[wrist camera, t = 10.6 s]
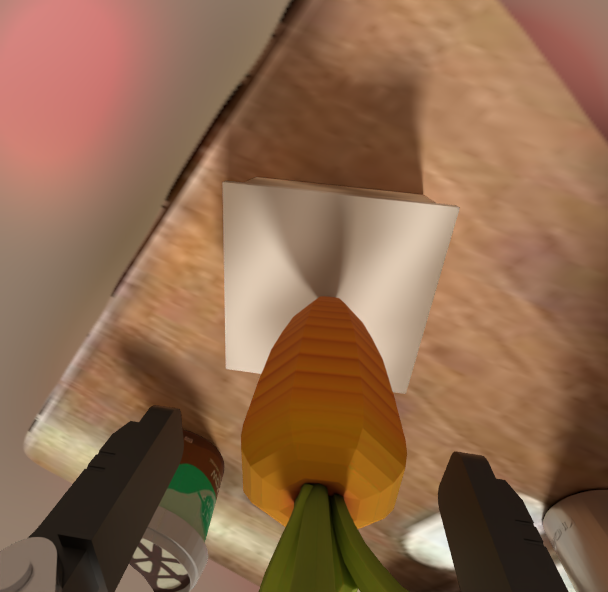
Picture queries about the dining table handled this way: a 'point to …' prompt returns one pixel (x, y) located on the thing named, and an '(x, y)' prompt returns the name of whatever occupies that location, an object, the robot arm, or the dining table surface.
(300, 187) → the wooden stand
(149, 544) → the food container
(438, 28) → the dining table surface
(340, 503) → the carrot
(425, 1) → the dining table surface
